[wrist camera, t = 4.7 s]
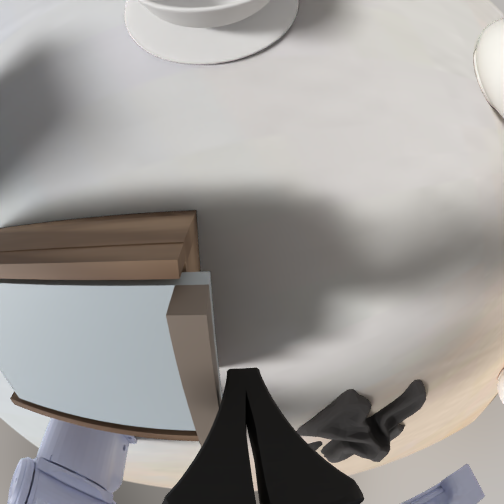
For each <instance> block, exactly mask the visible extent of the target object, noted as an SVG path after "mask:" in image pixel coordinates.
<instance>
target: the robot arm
mask: <svg viewBox="0 0 504 504" xmlns="http://www.w3.org/2000/svg"><path fill="white" fill-rule="evenodd" d="M246 424H247V429H248V434H249V438H250V443H251V447H252V452H253V456H254V462H255V469H256V478H257V486H258V494H259V501H260V504H360V503H361V502H363V500H364V497H363V494H362V492H361V490H360V488H359V486H358V485H357V484H356V482H355V481H354V480H353V479H352V478H350V477H349V476H347V475H345V474H344V473H342V472H341V471H339V470H338V469H337V468H335V467H334V466H333V465H331V464H330V463H329V462H327V461H326V460H325V459H324V458H323V457H321V456H320V455H319V454H318V453H317V452H316V451H315V450H314V449H312V448H311V447H310V446H309V445H308V444H307V443H306V442H305V441H304V440H303V439H302V438H301V436H300V435H299V434H298V433H297V432H296V431H295V430H294V428H293V427H292V426H291V425H290V423H289V422H288V421H287V419H286V418H285V417H284V415H283V414H282V412H281V411H280V409H279V408H278V406H277V405H276V403H275V402H274V400H273V398H272V397H271V395H270V393H269V391H268V389H267V387H266V385H265V383H264V381H263V379H262V377H261V374H260V371H259V369H258V368H243V369H229V370H228V371H227V379H226V385H225V390H224V394H223V397H222V400H221V404H220V407H219V410H218V413H217V415H216V418H215V420H214V423H213V425H212V427H211V430H210V432H209V434H208V436H207V438H206V440H205V442H204V444H203V446H202V447H201V449H200V451H199V452H198V454H197V456H196V457H195V459H194V461H193V462H192V464H191V465H190V466H189V468H188V469H187V471H186V472H185V473H184V475H183V476H182V478H181V479H180V480H179V481H178V483H177V484H176V485H175V486H174V487H173V488H172V490H171V491H170V492H169V493H168V494H167V495H166V497H165V499H164V501H163V503H162V504H256V500H255V495H254V488H253V481H252V474H251V467H250V460H249V452H248V445H247V436H246ZM129 443H133V444H136V443H137V440H136V438H135V437H134V436H130V435H123V434H117V433H112V432H106V431H101V430H96V429H92V428H87V427H83V426H79V425H75V424H71V423H68V422H64V421H61V420H57V419H54V418H51V419H50V421H49V424H48V426H47V429H46V431H45V434H44V437H43V439H42V442H41V445H40V448H39V450H38V453H37V456H36V458H34V459H31V458H30V457H26V458H21V460H20V461H19V463H18V465H17V467H16V470H15V472H14V475H13V478H12V482H11V485H10V489H9V498H8V502H7V504H117V503H116V502H115V501H113V494H112V493H113V492H115V491H116V490H117V489H118V488H119V487H120V485H121V483H122V480H123V474H124V468H125V462H126V457H127V451H128V446H129ZM484 496H485V495H484V493H483V491H482V489H481V487H480V485H479V483H478V481H477V479H476V478H475V476H474V474H473V472H472V470H471V468H470V466H469V465H468V464H466V465H464V466H463V467H461V468H460V469H458V470H457V471H455V472H454V473H452V474H451V475H449V476H448V477H446V478H445V479H444V480H442V481H441V482H440V483H439V484H437V485H435V486H434V487H432V488H430V489H428V490H426V491H425V492H423V493H421V494H419V495H417V496H415V497H413V498H411V499H409V500H407V501H405V502H403V503H401V504H477V503H478V502H479V501H480V500H481V499H483V498H484Z"/></svg>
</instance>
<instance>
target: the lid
mask: <svg viewBox="0 0 504 504" xmlns="http://www.w3.org/2000/svg"><path fill="white" fill-rule="evenodd" d="M0 371H1V372H2V374H3V375H4V377H5V378H6V380H7V381H8V383H9V384H10V386H11V387H12V389H13V390H14V391H15V393H16V394H17V395H18V397H19V398H20V399H23V400H26V401H29V402H32V403H35V404H37V405H41V406H44V407H47V408H50V409H54V410H57V411H61V412H64V413H68V414H72V415H76V416H80V417H85V418H89V419H94V420H99V421H104V422H110V423H116V424H122V425H129V426H137V427H145V428H156V429H169V430H189V431H196V433H197V436H198V438H199V441H200V444H201V447H202V446H203V444H204V442H205V440H206V438H207V436H208V434H209V432H210V430H211V427H212V425H213V423H214V420H215V418H216V415H217V413H218V410H219V407H220V404H221V400H222V390H221V381H220V373H219V364H218V355H217V345H216V335H215V325H214V313H213V302H212V289H211V275H210V271H208V272H182V273H181V276H180V279H148V280H41V279H1V278H0Z"/></svg>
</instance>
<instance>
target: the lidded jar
mask: <svg viewBox="0 0 504 504" xmlns="http://www.w3.org/2000/svg"><path fill="white" fill-rule="evenodd" d="M473 63H474V69H475V74H476V77H477V80H478V83H479V86H480V88H481V90H482V93H483V94H484V96H485V98H486V100H487V101H488V102H489V104H490V105H491V106H492V107H493V108H494V109H496V110H497V111H498V113H499V114H500V115H501V116H502V117H503V118H504V18H502V19H499V20H497V21H495V22H493V23H491V24H490V25H488V26H487V27H486V28H485V29H484V30H483V32H482V33H481V35H480V37H479V40H478V44H477V48H476V50H475V51H474V56H473Z"/></svg>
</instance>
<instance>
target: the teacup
mask: <svg viewBox="0 0 504 504" xmlns="http://www.w3.org/2000/svg"><path fill="white" fill-rule="evenodd" d="M298 6H299V0H127V1H126V5H125V11H124V18H125V25H126V28H127V30H128V32H129V34H130V36H131V37H132V39H133V40H134V41H135V42H136V43H137V45H139V46H140V47H141V48H142V49H144V50H145V51H147V52H148V53H150V54H152V55H154V56H156V57H158V58H161V59H164V60H167V61H171V62H176V63H182V64H192V65H207V64H218V63H225V62H230V61H234V60H238V59H241V58H244V57H248V56H250V55H253V54H255V53H257V52H259V51H261V50H263V49H265V48H267V47H269V46H270V45H272V44H273V43H274V42H276V41H277V40H278V39H280V38H281V37H282V36H283V35H284V34H285V33H286V32H287V30H288V29H289V28H290V27H291V25H292V23H293V22H294V20H295V18H296V15H297V11H298Z"/></svg>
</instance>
